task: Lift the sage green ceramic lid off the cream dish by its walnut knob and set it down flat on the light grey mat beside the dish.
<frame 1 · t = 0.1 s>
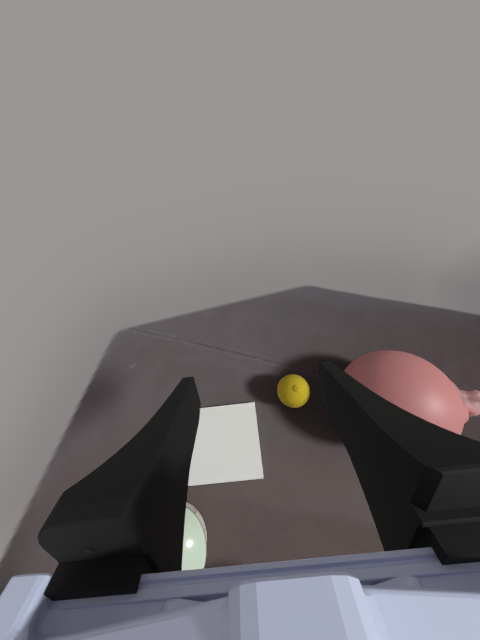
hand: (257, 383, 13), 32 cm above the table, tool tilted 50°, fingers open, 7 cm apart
lemon: (290, 392, 43), on the table
mat: (220, 441, 40), on the table
lid: (169, 549, 33), point 3 cm above the table, touching dish
balloon: (381, 405, 41), on the table
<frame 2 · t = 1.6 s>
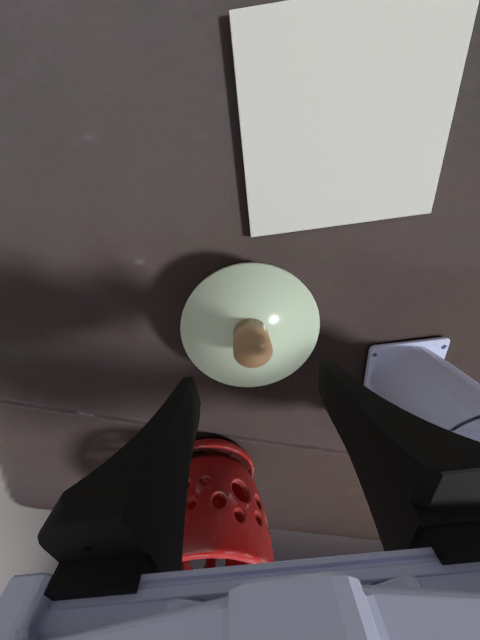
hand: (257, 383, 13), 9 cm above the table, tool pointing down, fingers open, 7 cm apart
mat: (342, 130, 15), on the table
lid: (249, 330, 19), point 3 cm above the table, touching dish
plant pot: (213, 457, 31), on the table
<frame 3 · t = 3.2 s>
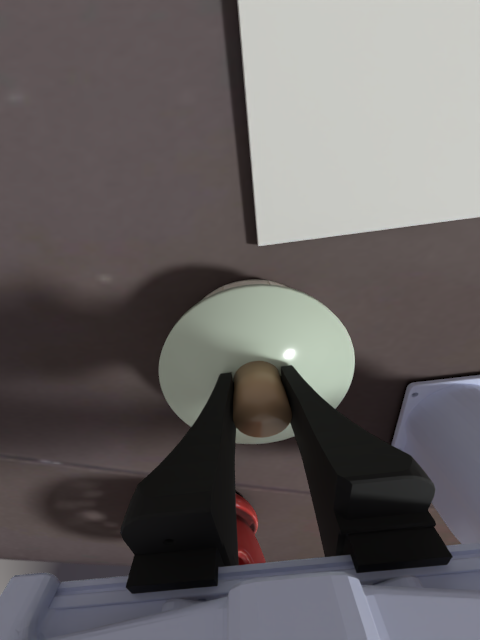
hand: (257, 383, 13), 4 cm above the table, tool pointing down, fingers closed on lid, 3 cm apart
mat: (397, 89, 10), on the table
dish: (252, 346, 16), on the table
lid: (256, 373, 13), point 3 cm above the table, touching dish, gripper
plant pot: (209, 505, 26), on the table
when the fingers open (3 cm above the table, at t = 7.9 s): lid drops 1 cm, resting on mat.
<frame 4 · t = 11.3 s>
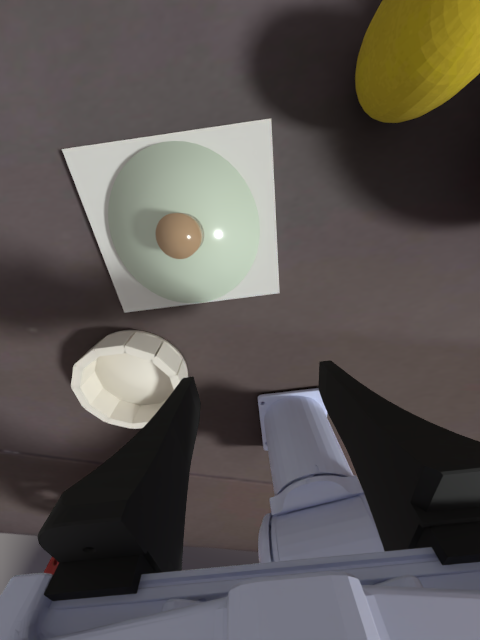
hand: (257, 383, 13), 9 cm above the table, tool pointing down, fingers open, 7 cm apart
lemon: (374, 87, 15), on the table
mat: (187, 230, 18), on the table
dish: (140, 371, 24), on the table
lid: (187, 233, 17), point 1 cm above the table, touching mat
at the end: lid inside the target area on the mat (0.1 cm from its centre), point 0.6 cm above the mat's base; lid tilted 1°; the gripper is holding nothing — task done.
